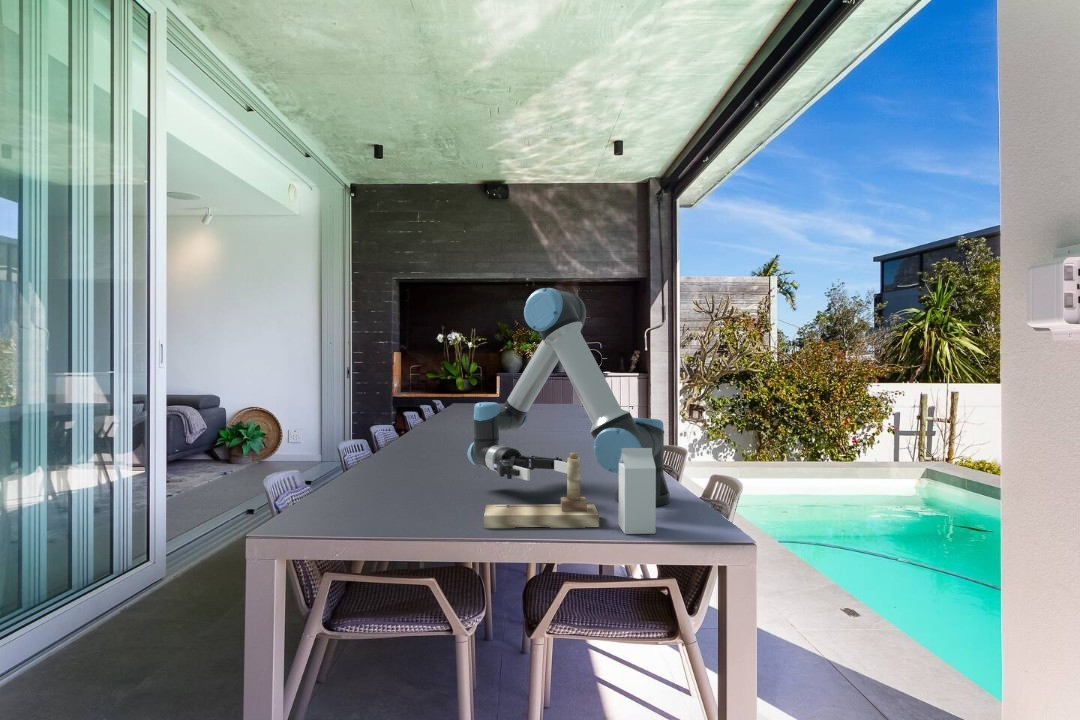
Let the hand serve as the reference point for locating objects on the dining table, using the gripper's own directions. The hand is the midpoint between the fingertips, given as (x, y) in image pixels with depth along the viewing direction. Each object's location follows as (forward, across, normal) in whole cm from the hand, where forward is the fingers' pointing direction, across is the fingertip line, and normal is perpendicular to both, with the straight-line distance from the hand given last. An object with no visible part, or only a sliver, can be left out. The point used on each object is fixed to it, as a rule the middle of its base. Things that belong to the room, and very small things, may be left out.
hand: (550, 472), depth 151 cm
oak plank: (+5, +6, -11) cm, 13 cm away
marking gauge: (+9, 0, -8) cm, 12 cm away
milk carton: (+23, -7, -11) cm, 27 cm away
